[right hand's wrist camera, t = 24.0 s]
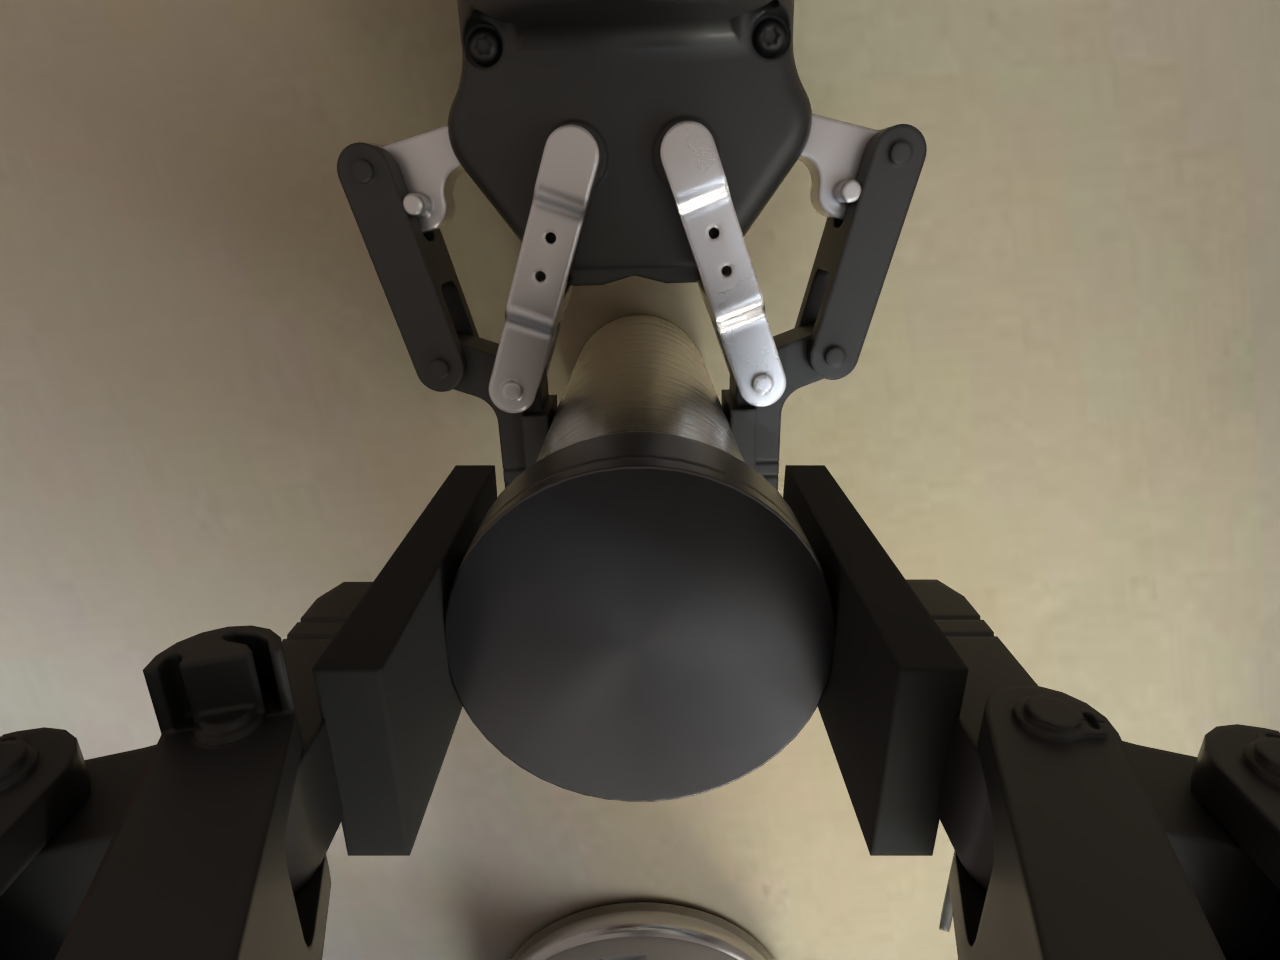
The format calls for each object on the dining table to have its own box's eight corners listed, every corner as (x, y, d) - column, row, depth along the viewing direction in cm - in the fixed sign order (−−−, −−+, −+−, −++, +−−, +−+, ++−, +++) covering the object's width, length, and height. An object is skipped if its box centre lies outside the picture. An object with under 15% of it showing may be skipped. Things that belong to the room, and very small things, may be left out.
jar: (708, 439, 27) (795, 736, 12) (581, 448, 27) (508, 753, 12) (702, 309, 25) (796, 465, 10) (567, 320, 25) (461, 488, 10)
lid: (518, 756, 13) (503, 828, 12) (421, 469, 11) (388, 510, 10) (831, 705, 13) (855, 771, 11) (788, 396, 11) (813, 427, 9)
